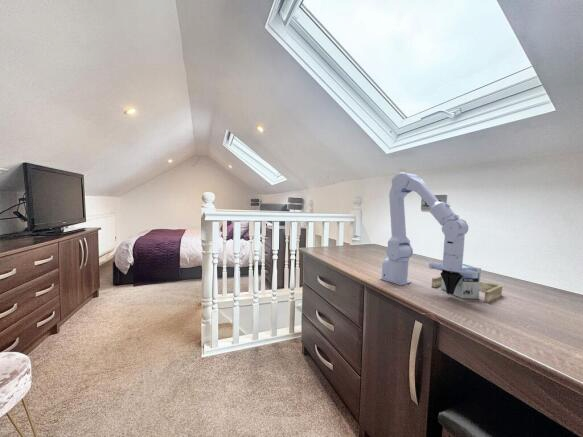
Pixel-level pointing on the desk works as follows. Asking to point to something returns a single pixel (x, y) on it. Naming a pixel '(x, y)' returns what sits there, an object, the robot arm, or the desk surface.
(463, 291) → the light bulb box
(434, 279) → the wooden frame
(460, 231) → the robot arm
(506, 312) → the desk surface
